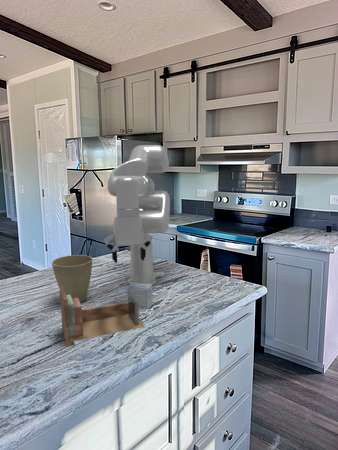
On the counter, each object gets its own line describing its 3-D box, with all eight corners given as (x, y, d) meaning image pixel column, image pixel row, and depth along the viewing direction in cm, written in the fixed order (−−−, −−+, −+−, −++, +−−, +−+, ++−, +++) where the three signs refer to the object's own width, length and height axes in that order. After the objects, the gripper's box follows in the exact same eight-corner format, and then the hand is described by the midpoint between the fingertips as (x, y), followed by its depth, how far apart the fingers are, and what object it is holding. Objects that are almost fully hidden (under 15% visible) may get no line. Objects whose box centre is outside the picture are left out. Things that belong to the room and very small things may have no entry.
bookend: (131, 314, 120) (130, 295, 119) (138, 324, 113) (138, 304, 112) (128, 315, 120) (127, 295, 118) (135, 325, 112) (135, 304, 111)
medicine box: (153, 306, 130) (152, 284, 128) (148, 311, 125) (147, 288, 124) (133, 304, 132) (132, 281, 130) (128, 308, 128) (127, 286, 126)
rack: (134, 315, 123) (132, 275, 120) (145, 330, 112) (144, 287, 109) (62, 328, 114) (59, 286, 111) (66, 346, 103) (63, 300, 100)
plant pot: (62, 292, 144) (59, 254, 141) (98, 292, 143) (96, 254, 140) (48, 308, 129) (45, 266, 126) (89, 308, 129) (86, 266, 126)
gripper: (149, 210, 129) (150, 256, 132) (101, 212, 124) (103, 260, 127) (154, 213, 122) (155, 261, 125) (103, 215, 117) (105, 265, 120)
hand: (129, 260), depth 126 cm, fingers open, 9 cm apart
